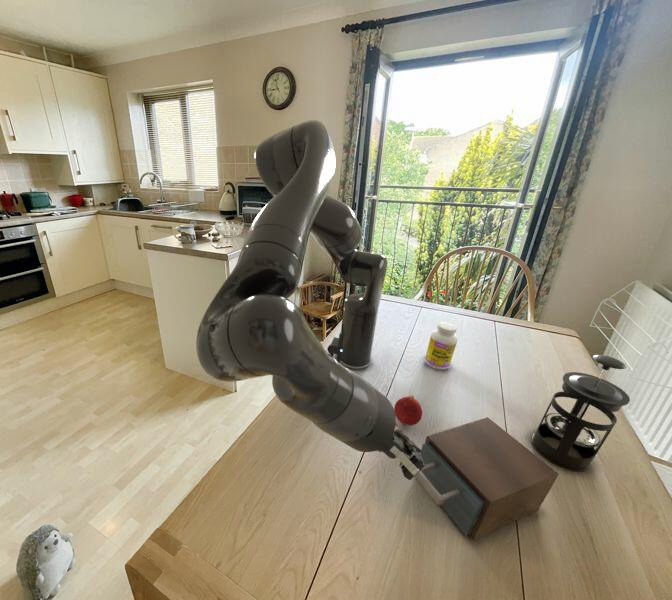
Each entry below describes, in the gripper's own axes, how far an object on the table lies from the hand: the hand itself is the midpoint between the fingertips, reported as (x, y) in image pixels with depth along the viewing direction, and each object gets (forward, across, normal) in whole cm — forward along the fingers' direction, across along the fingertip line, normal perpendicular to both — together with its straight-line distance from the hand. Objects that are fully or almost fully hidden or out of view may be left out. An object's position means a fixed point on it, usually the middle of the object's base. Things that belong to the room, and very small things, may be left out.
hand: (413, 452), depth 45 cm
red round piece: (+23, -17, 0) cm, 29 cm away
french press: (+42, -1, +18) cm, 45 cm away
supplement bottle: (+40, -33, +17) cm, 55 cm away
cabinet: (+24, 0, +1) cm, 24 cm away
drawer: (+20, 0, -2) cm, 20 cm away
